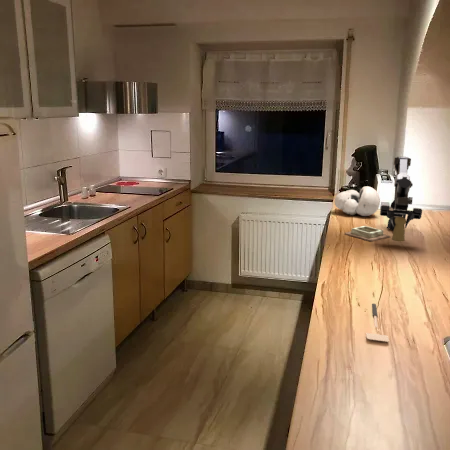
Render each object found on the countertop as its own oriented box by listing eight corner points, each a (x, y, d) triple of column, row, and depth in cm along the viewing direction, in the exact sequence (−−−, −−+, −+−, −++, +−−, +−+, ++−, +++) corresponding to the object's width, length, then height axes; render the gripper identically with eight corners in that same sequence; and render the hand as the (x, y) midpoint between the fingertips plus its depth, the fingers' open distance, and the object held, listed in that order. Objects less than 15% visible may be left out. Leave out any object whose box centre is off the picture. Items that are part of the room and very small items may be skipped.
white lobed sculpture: (341, 196, 321) (350, 170, 305) (377, 215, 313) (388, 189, 297) (326, 214, 309) (335, 188, 293) (363, 234, 301) (375, 208, 285)
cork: (389, 237, 244) (392, 215, 241) (401, 237, 244) (404, 215, 241) (394, 241, 238) (397, 218, 235) (406, 241, 238) (409, 219, 236)
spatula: (366, 343, 144) (366, 338, 144) (364, 304, 172) (364, 300, 172) (388, 346, 143) (389, 341, 142) (383, 306, 171) (383, 302, 170)
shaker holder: (363, 230, 269) (364, 224, 268) (389, 237, 257) (390, 230, 256) (344, 234, 259) (345, 228, 258) (370, 241, 247) (371, 235, 246)
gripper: (383, 188, 241) (380, 216, 234) (424, 192, 236) (423, 220, 229) (381, 201, 251) (378, 228, 243) (420, 205, 246) (419, 232, 238)
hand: (399, 227), depth 238 cm, fingers closed on cork, 5 cm apart
